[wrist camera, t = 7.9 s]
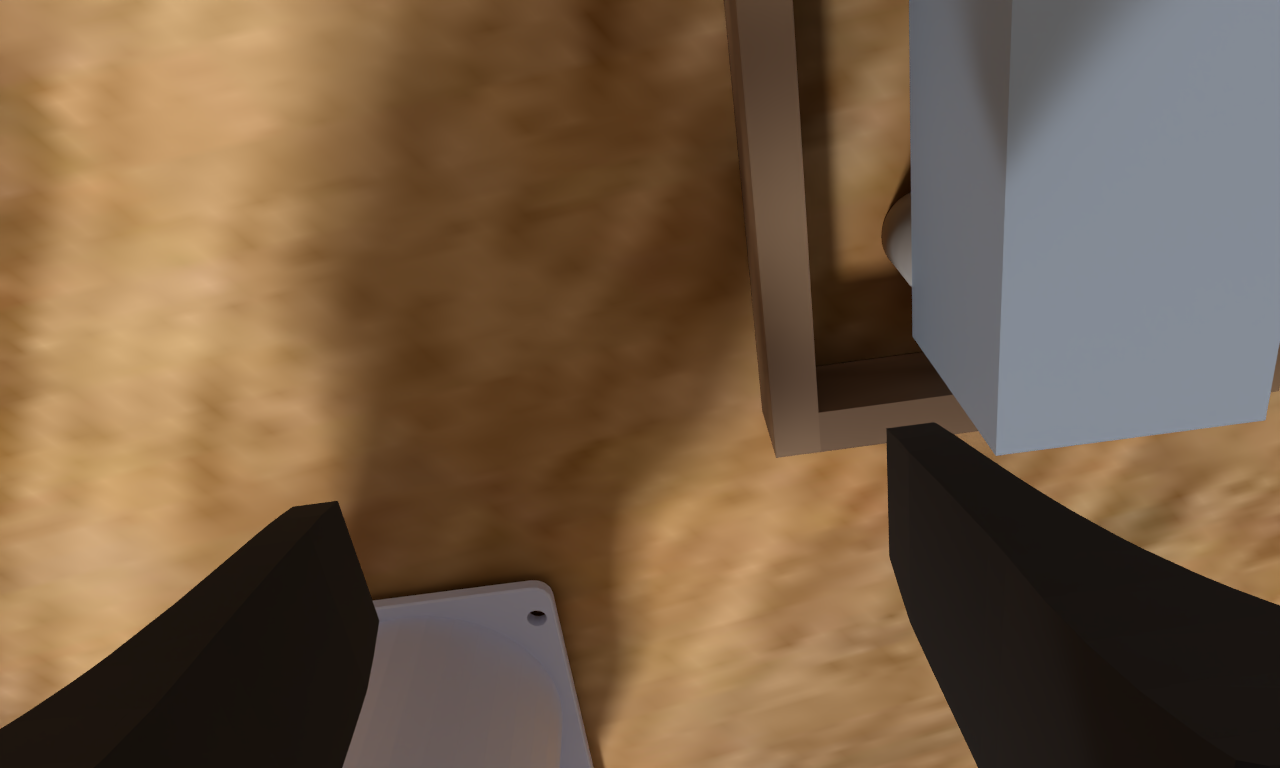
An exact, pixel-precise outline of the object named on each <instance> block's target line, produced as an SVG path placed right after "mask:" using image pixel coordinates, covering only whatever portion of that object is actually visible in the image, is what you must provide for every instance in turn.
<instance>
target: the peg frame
mask: <svg viewBox="0 0 1280 768" xmlns="http://www.w3.org/2000/svg"><path fill="white" fill-rule="evenodd" d="M724 6H725V17H726V27H727V38H728V49H729V59H730V70H731V81H732V91H733V102H734V113H735V123H736V134H737V145H738V156H739V166H740V177H741V188H742V198H743V209H744V220H745V230H746V241H747V252H748V262H749V273H750V284H751V295H752V305H753V316H754V327H755V337H756V348H757V359H758V369H759V380H760V391H761V401H762V411H763V415H764V418H765V421H766V425H767V428H768V432H769V435H770V438H771V442H772V445H773V449H774V452H775V455H776V458H778V457H786V456H793V455H801V454H808V453H816V452H824V451H831V450H839V449H846V448H854V447H861V446H869V445H876V444H884V443H887V434H886V428H893V427H901V426H908V425H916V424H924V423H931V422H935V423H937V424H938V425H940V426H942V427H943V428H945V429H946V430H948V431H949V432H951V433H952V434H959V433H967V432H974V431H978V429H977V428H976V427H975V425H974V424H973V422H972V421H971V419H970V418H969V417H968V415H967V414H966V412H965V411H964V409H963V408H962V407H961V405H960V404H959V402H958V401H957V399H956V398H955V397H954V395H953V394H952V392H951V391H950V389H949V388H948V387H947V385H946V384H945V382H944V381H943V379H942V378H941V377H940V375H939V374H938V372H937V371H936V369H935V368H934V367H933V365H932V364H931V362H930V361H929V359H928V358H927V357H926V355H925V354H924V352H920V353H912V354H905V355H898V356H890V357H883V358H876V359H868V360H861V361H854V362H847V363H839V364H832V365H825V366H817V367H816V365H815V349H814V333H813V317H812V301H811V285H810V269H809V253H808V237H807V221H806V205H805V189H804V173H803V157H802V141H801V125H800V109H799V93H798V77H797V61H796V45H795V29H794V13H793V0H724ZM881 238H882V245H883V249H884V251H885V253H886V255H887V257H888V258H889V259H890V261H891V262H892V263H893V264H894V266H895V267H896V268H897V270H898V271H899V272H900V273H901V275H902V276H903V277H904V278H905V280H906V281H907V282H908V283H909V285H910V286H911V287H912V241H911V192H909V193H908V194H906V195H904V196H903V197H902V198H900V199H899V200H898V201H897V202H896V203H895V204H894V205H893V207H892V208H891V209H890V211H889V212H888V214H887V216H886V218H885V220H884V223H883V227H882V236H881ZM1279 387H1280V344H1279V349H1278V354H1277V360H1276V365H1275V371H1274V376H1273V381H1272V387H1271V392H1275V391H1279Z"/></svg>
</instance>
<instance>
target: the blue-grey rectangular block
mask: <svg viewBox="0 0 1280 768" xmlns="http://www.w3.org/2000/svg"><path fill="white" fill-rule="evenodd" d="M909 45H910V143H911V241H912V337H913V338H914V339H915V341H916V342H917V344H918V345H919V347H920V348H921V349H922V351H923V352H924V354H925V355H926V357H927V358H928V359H929V361H930V362H931V364H932V365H933V367H934V368H935V369H936V371H937V372H938V374H939V375H940V377H941V378H942V379H943V381H944V382H945V384H946V385H947V387H948V388H949V389H950V391H951V392H952V394H953V395H954V397H955V398H956V399H957V401H958V402H959V404H960V405H961V407H962V408H963V409H964V411H965V412H966V414H967V415H968V417H969V418H970V419H971V421H972V422H973V424H974V425H975V427H976V428H977V429H978V431H979V432H980V434H981V435H982V437H983V438H984V439H985V441H986V442H987V444H988V445H989V447H990V448H991V449H992V451H993V452H994V454H995V455H996V456H997V455H1005V454H1012V453H1020V452H1027V451H1035V450H1043V449H1050V448H1058V447H1065V446H1073V445H1081V444H1088V443H1096V442H1103V441H1111V440H1119V439H1126V438H1134V437H1141V436H1149V435H1157V434H1164V433H1172V432H1179V431H1187V430H1195V429H1202V428H1210V427H1217V426H1225V425H1233V424H1240V423H1248V422H1255V421H1263V420H1265V419H1266V414H1267V408H1268V403H1269V398H1270V392H1271V387H1272V381H1273V376H1274V371H1275V365H1276V360H1277V354H1278V349H1279V344H1280V0H909Z"/></svg>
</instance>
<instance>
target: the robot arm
mask: <svg viewBox="0 0 1280 768" xmlns="http://www.w3.org/2000/svg"><path fill="white" fill-rule="evenodd" d="M886 434H887V476H888V517H889V557H890V560H891V563H892V566H893V570H894V573H895V576H896V579H897V583H898V586H899V589H900V593H901V596H902V599H903V602H904V605H905V608H906V611H907V614H908V617H909V620H910V623H911V625H912V627H913V630H914V632H915V634H916V636H917V638H918V641H919V643H920V645H921V647H922V649H923V651H924V654H925V656H926V658H927V660H928V662H929V664H930V666H931V669H932V671H933V673H934V675H935V677H936V679H937V681H938V683H939V686H940V688H941V690H942V692H943V694H944V696H945V698H946V700H947V703H948V705H949V707H950V709H951V711H952V713H953V715H954V717H955V719H956V722H957V724H958V726H959V728H960V730H961V732H962V734H963V736H964V738H965V741H966V743H967V745H968V747H969V749H970V751H971V753H972V755H973V758H974V760H975V762H976V764H977V766H978V768H1280V606H1279V605H1277V604H1274V603H1271V602H1268V601H1266V600H1263V599H1260V598H1258V597H1255V596H1252V595H1250V594H1247V593H1244V592H1241V591H1239V590H1236V589H1233V588H1231V587H1228V586H1226V585H1224V584H1221V583H1219V582H1216V581H1214V580H1211V579H1209V578H1206V577H1204V576H1202V575H1199V574H1197V573H1195V572H1192V571H1190V570H1188V569H1186V568H1184V567H1182V566H1179V565H1177V564H1175V563H1173V562H1171V561H1168V560H1166V559H1164V558H1162V557H1160V556H1157V555H1155V554H1153V553H1151V552H1149V551H1147V550H1144V549H1142V548H1140V547H1138V546H1136V545H1134V544H1132V543H1130V542H1128V541H1126V540H1124V539H1122V538H1120V537H1119V536H1117V535H1115V534H1113V533H1111V532H1109V531H1108V530H1106V529H1104V528H1102V527H1100V526H1098V525H1097V524H1095V523H1093V522H1091V521H1089V520H1088V519H1086V518H1084V517H1082V516H1080V515H1079V514H1077V513H1075V512H1073V511H1071V510H1070V509H1068V508H1066V507H1065V506H1063V505H1061V504H1060V503H1058V502H1056V501H1055V500H1053V499H1051V498H1050V497H1048V496H1046V495H1045V494H1043V493H1042V492H1040V491H1038V490H1037V489H1035V488H1033V487H1032V486H1030V485H1029V484H1027V483H1026V482H1024V481H1022V480H1021V479H1019V478H1018V477H1016V476H1015V475H1013V474H1012V473H1010V472H1009V471H1007V470H1006V469H1004V468H1003V467H1001V466H1000V465H998V464H997V463H995V462H994V461H992V460H991V459H989V458H988V457H986V456H985V455H983V454H982V453H980V452H979V451H977V450H976V449H974V448H973V447H971V446H970V445H968V444H967V443H966V442H964V441H963V440H961V439H960V438H958V437H957V436H955V435H954V434H952V433H951V432H949V431H948V430H946V429H945V428H943V427H942V426H940V425H938V424H937V423H935V422H931V423H924V424H916V425H908V426H901V427H893V428H886ZM532 611H541V612H543V613H545V614H544V615H542V616H535V615H533V614H531V613H530V612H532ZM0 768H594V767H593V763H592V758H591V754H590V750H589V746H588V741H587V737H586V733H585V728H584V724H583V720H582V715H581V711H580V707H579V703H578V698H577V694H576V690H575V685H574V681H573V677H572V672H571V668H570V664H569V660H568V655H567V651H566V647H565V642H564V638H563V634H562V629H561V625H560V621H559V617H558V612H557V608H556V604H555V599H554V595H553V592H552V590H551V588H550V587H549V586H548V585H547V584H546V583H544V582H541V581H538V580H529V581H521V582H513V583H506V584H498V585H490V586H482V587H474V588H467V589H459V590H451V591H443V592H436V593H428V594H420V595H412V596H404V597H397V598H389V599H381V600H373V601H372V598H371V595H370V592H369V589H368V586H367V584H366V581H365V578H364V575H363V572H362V569H361V566H360V563H359V561H358V558H357V555H356V552H355V549H354V546H353V543H352V540H351V538H350V535H349V532H348V529H347V526H346V523H345V520H344V518H343V515H342V512H341V509H340V506H339V503H338V501H333V502H325V503H318V504H310V505H303V506H295V507H292V508H290V509H289V510H288V511H286V512H285V513H283V514H282V515H280V516H279V517H278V518H277V519H275V520H274V521H273V522H271V523H270V524H269V525H268V526H266V527H265V528H264V529H263V530H262V531H260V532H259V533H258V534H257V535H256V536H254V537H253V538H252V539H251V540H250V541H248V542H247V543H246V544H245V545H244V546H242V547H241V548H240V549H239V550H238V551H237V552H235V553H234V554H233V555H232V556H231V557H230V558H228V559H227V560H226V561H225V562H224V563H223V564H221V565H220V566H219V567H218V568H217V569H215V570H214V571H213V572H212V573H211V574H210V575H208V576H207V577H206V578H205V579H204V580H202V581H201V582H200V583H199V584H198V585H197V586H195V587H194V588H193V589H192V590H191V591H189V592H188V593H187V594H186V595H185V596H183V597H182V598H181V599H180V600H179V601H178V602H176V603H175V604H174V605H173V606H171V607H170V608H169V609H168V610H166V611H165V612H164V613H162V614H161V615H160V616H159V617H157V618H156V619H155V620H154V621H152V622H151V623H150V624H148V625H147V626H146V627H145V628H143V629H142V630H141V631H140V632H138V633H137V634H136V635H134V636H133V637H132V638H131V639H129V640H128V641H127V642H126V643H124V644H123V645H122V646H120V647H119V648H118V649H117V650H115V651H114V652H113V653H112V654H110V655H109V656H108V657H106V658H105V659H104V660H102V661H101V662H99V663H98V664H97V665H95V666H94V667H93V668H91V669H90V670H88V671H87V672H86V673H84V674H83V675H81V676H80V677H79V678H77V679H76V680H74V681H73V682H71V683H70V684H69V685H67V686H66V687H64V688H63V689H61V690H60V691H58V692H57V693H55V694H54V695H52V696H51V697H49V698H48V699H46V700H45V701H43V702H42V703H40V704H39V705H37V706H36V707H34V708H33V709H31V710H30V711H28V712H27V713H25V714H24V715H22V716H20V717H19V718H17V719H16V720H14V721H13V722H11V723H10V724H8V725H6V726H4V727H3V728H1V729H0Z"/></svg>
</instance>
